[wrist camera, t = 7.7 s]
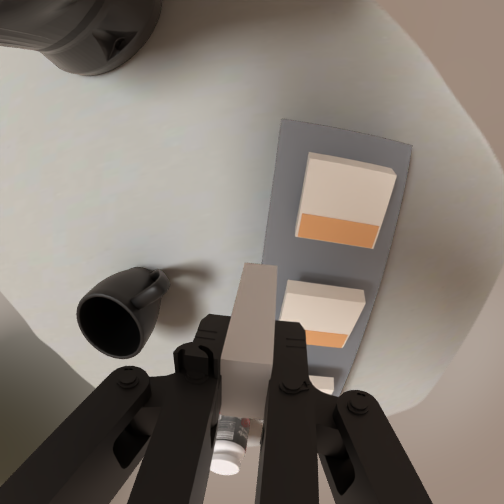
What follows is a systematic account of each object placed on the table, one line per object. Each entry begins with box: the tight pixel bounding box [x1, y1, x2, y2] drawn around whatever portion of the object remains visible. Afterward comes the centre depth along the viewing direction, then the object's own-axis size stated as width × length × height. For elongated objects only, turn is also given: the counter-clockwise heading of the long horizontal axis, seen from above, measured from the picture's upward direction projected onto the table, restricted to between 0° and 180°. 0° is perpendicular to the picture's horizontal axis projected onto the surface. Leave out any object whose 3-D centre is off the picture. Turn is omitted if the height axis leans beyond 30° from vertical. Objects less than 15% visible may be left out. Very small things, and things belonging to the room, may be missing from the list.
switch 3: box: [309, 375, 334, 395], centre depth 34 cm, size 7×7×2 cm
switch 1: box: [295, 152, 397, 249], centre depth 26 cm, size 7×7×2 cm
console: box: [262, 119, 412, 397], centre depth 34 cm, size 34×12×6 cm, turn 173°
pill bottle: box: [210, 414, 250, 475], centre depth 42 cm, size 6×6×10 cm
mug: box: [76, 267, 170, 359], centre depth 34 cm, size 8×12×10 cm
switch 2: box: [279, 280, 366, 348], centre depth 30 cm, size 7×7×2 cm
